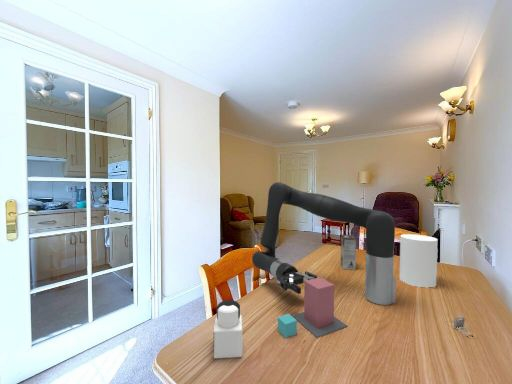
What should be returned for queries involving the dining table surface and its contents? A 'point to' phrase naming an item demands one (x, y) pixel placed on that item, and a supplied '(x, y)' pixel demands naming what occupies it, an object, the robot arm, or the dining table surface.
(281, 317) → the block
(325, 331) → the mat
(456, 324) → the strap clip
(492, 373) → the dining table surface
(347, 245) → the coffee box
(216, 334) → the medicine bottle
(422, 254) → the canister
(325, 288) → the tall pink pillar
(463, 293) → the dining table surface
